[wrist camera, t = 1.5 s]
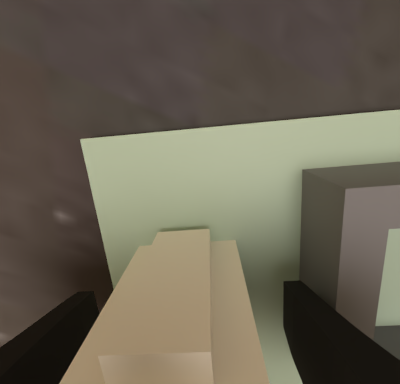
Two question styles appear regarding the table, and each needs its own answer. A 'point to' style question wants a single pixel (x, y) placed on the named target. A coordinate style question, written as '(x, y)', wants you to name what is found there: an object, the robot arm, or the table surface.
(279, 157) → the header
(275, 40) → the table surface
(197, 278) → the plug
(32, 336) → the robot arm
